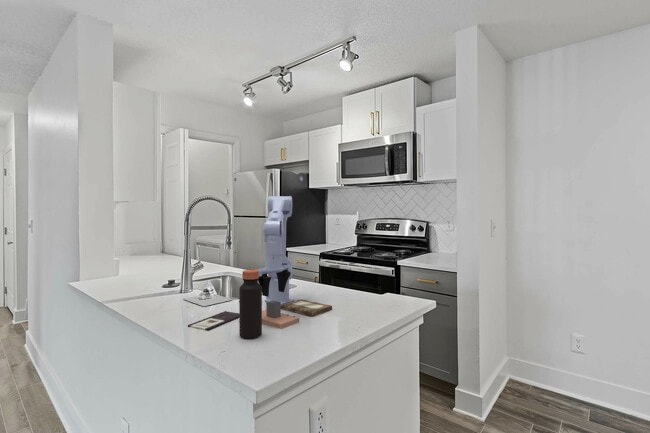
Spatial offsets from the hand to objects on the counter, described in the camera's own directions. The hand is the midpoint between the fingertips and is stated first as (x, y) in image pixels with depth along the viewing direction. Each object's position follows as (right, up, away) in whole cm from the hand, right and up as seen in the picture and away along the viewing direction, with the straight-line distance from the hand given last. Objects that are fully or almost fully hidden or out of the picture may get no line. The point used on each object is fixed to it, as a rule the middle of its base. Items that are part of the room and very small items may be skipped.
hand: (273, 293), depth 126 cm
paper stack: (-38, -9, +26) cm, 47 cm away
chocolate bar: (-19, -10, 0) cm, 22 cm away
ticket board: (+11, -9, +14) cm, 20 cm away
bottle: (-5, -10, -14) cm, 18 cm away
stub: (0, -9, 0) cm, 9 cm away
